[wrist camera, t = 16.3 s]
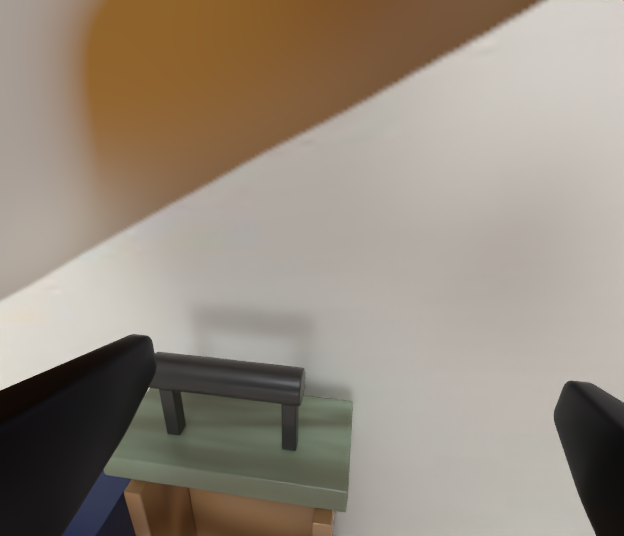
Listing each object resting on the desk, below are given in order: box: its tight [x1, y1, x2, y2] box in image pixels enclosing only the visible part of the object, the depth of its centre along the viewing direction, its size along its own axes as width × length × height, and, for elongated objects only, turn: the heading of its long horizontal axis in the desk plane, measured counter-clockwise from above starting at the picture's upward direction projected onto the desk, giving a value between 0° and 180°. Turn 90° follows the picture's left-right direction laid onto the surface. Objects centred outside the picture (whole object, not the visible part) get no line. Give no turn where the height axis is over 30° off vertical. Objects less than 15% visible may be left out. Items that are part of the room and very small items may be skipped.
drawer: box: [103, 352, 353, 536], centre depth 19 cm, size 22×10×5 cm, turn 179°
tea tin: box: [62, 470, 136, 536], centre depth 20 cm, size 4×5×8 cm
